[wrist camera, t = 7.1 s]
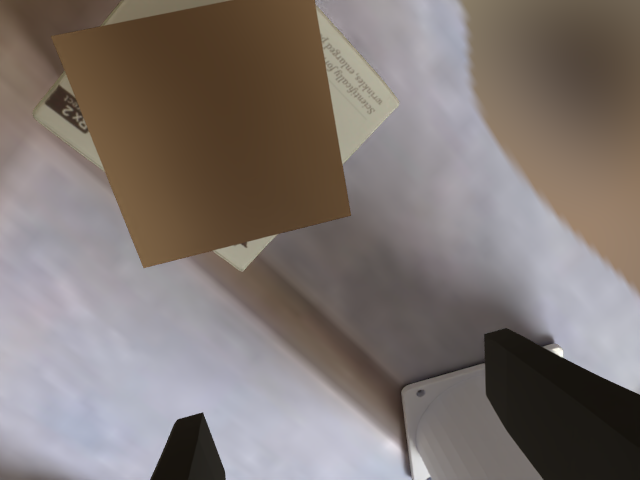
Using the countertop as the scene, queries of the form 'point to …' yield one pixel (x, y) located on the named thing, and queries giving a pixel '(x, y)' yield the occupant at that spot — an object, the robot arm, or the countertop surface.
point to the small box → (344, 82)
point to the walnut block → (211, 123)
